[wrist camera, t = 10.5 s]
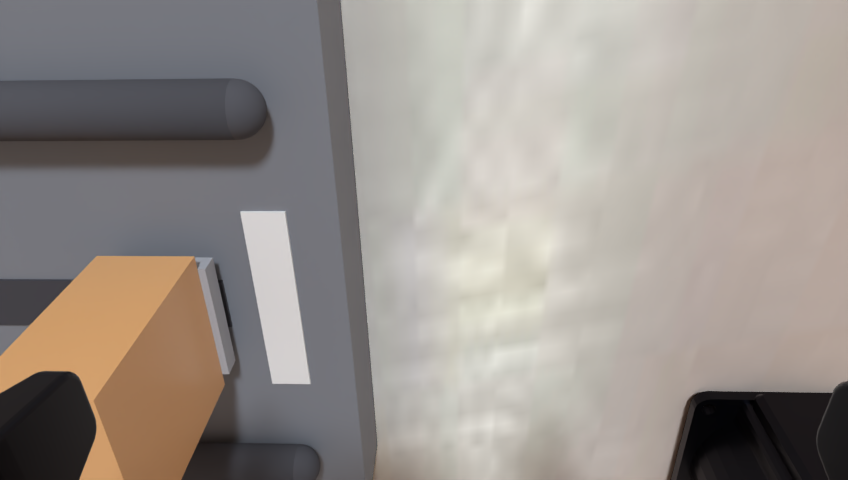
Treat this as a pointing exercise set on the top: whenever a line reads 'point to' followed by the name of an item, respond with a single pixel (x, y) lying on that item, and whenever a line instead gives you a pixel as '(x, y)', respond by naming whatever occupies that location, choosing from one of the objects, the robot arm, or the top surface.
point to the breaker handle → (135, 358)
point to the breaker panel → (209, 202)
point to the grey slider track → (156, 121)
